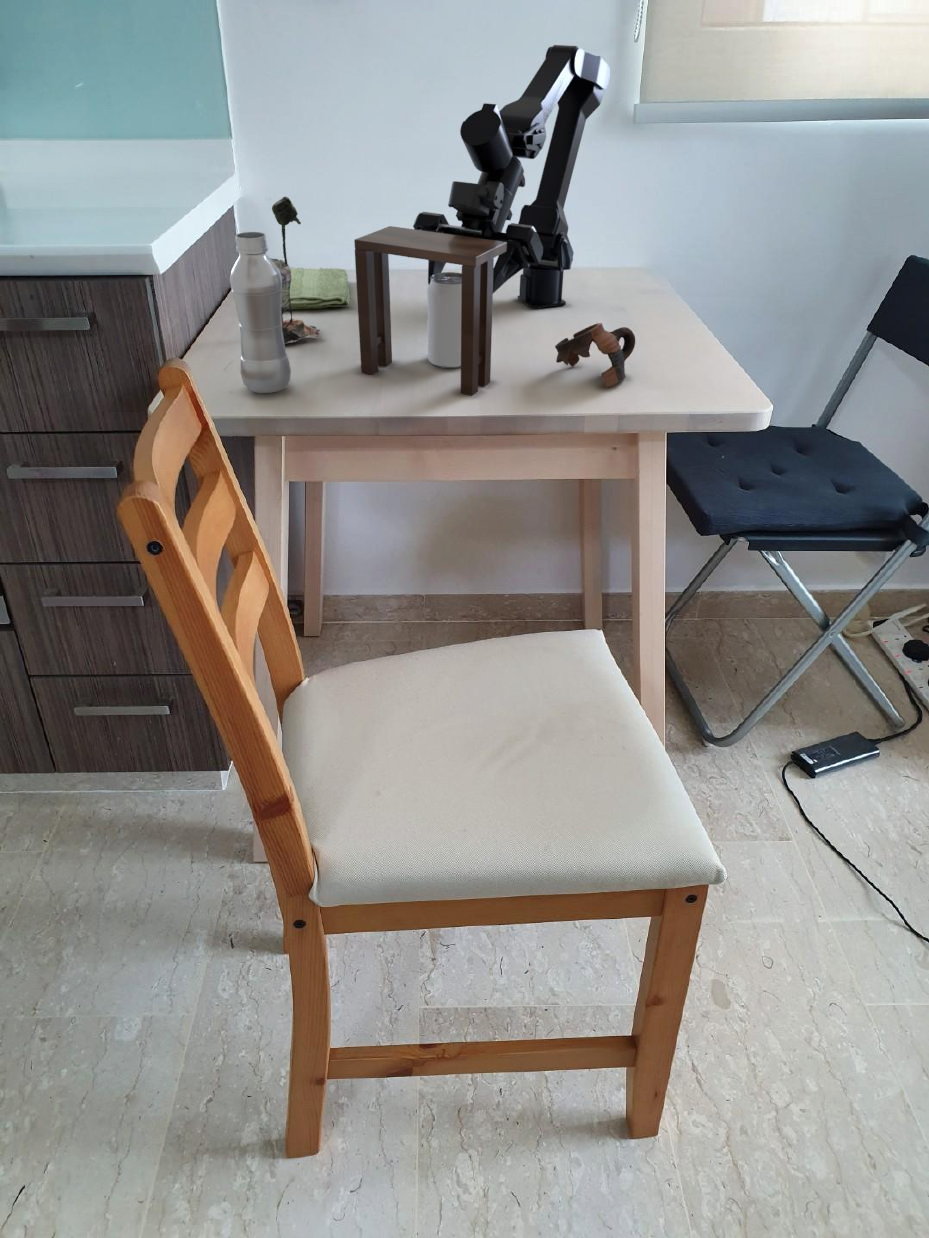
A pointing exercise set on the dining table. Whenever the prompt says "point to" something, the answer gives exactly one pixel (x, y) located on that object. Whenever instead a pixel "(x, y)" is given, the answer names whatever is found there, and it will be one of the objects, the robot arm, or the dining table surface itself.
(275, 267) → the plastic bottle
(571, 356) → the brown jagged looped part
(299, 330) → the plant with pod
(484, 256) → the desk
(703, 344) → the dining table surface
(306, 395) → the dining table surface
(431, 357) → the can
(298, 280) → the washcloth
